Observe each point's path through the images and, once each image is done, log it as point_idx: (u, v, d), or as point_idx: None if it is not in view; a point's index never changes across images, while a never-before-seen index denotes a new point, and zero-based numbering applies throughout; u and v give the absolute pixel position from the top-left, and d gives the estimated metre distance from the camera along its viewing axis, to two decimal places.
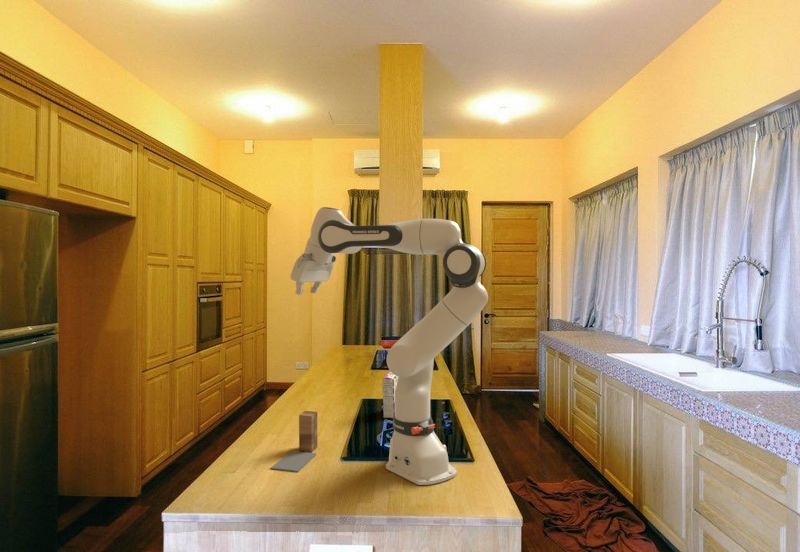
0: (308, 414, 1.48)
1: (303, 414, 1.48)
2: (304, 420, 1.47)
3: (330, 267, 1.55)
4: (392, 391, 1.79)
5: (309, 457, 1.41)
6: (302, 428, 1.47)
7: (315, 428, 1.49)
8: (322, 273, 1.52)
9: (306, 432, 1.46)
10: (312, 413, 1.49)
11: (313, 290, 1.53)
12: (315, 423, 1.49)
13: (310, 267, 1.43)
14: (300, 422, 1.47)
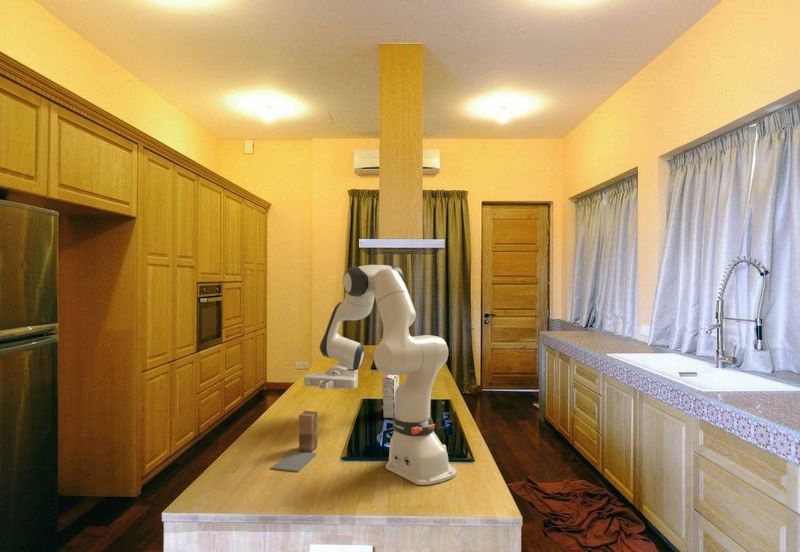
0: (308, 414, 1.48)
1: (303, 414, 1.48)
2: (304, 420, 1.47)
3: (351, 375, 1.68)
4: (392, 391, 1.79)
5: (309, 457, 1.41)
6: (302, 428, 1.47)
7: (315, 428, 1.49)
8: (339, 376, 1.67)
9: (306, 432, 1.46)
10: (312, 413, 1.49)
11: None
12: (315, 423, 1.49)
13: (320, 375, 1.71)
14: (300, 422, 1.47)
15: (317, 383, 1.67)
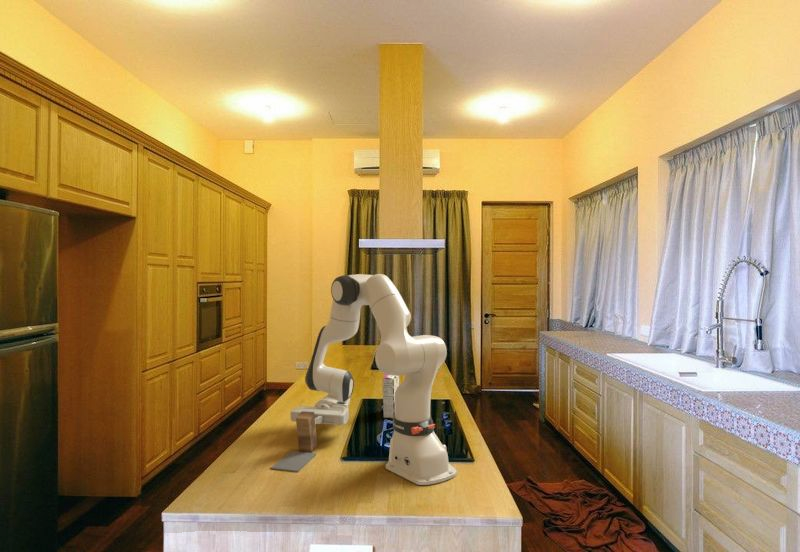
0: (305, 416, 1.45)
1: (300, 416, 1.45)
2: (301, 423, 1.45)
3: (341, 409, 1.58)
4: (392, 391, 1.79)
5: (309, 457, 1.41)
6: (300, 430, 1.45)
7: (313, 428, 1.48)
8: (328, 411, 1.56)
9: (304, 434, 1.45)
10: (309, 414, 1.47)
11: None
12: (313, 423, 1.47)
13: (308, 408, 1.60)
14: (297, 424, 1.45)
15: None
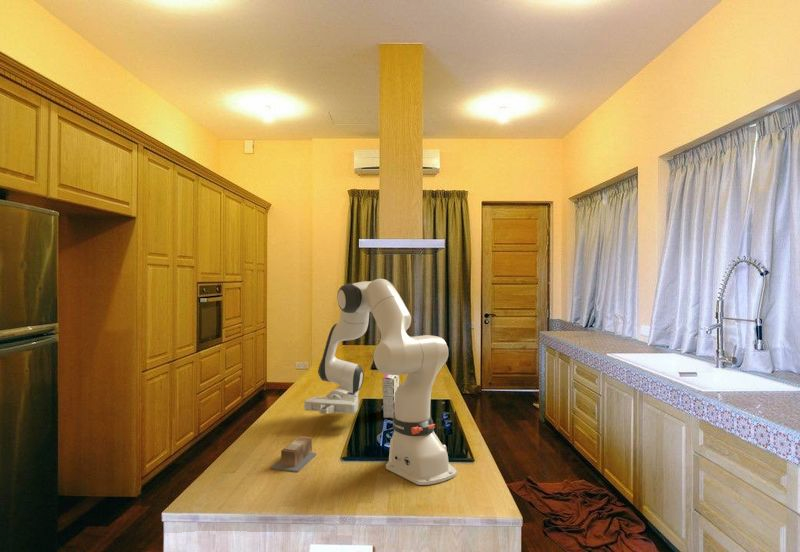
0: (289, 462, 1.35)
1: (284, 462, 1.35)
2: None
3: (352, 399, 1.68)
4: (392, 391, 1.79)
5: (309, 457, 1.41)
6: None
7: (302, 450, 1.39)
8: (339, 401, 1.67)
9: None
10: (291, 456, 1.35)
11: None
12: (299, 453, 1.38)
13: (321, 398, 1.71)
14: None
15: (318, 407, 1.67)
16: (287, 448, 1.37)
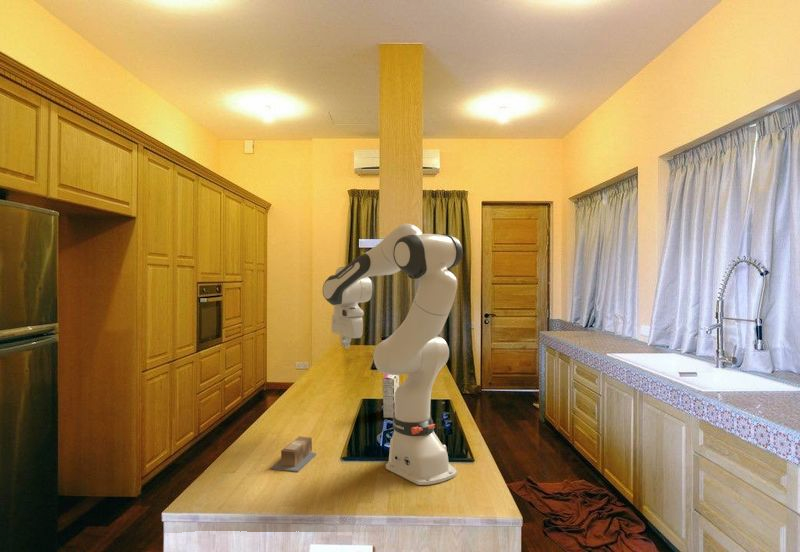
0: (289, 462, 1.35)
1: (284, 462, 1.35)
2: None
3: (349, 322, 1.58)
4: (392, 391, 1.79)
5: (309, 457, 1.41)
6: None
7: (302, 450, 1.39)
8: (345, 328, 1.62)
9: None
10: (291, 456, 1.35)
11: None
12: (299, 453, 1.38)
13: (336, 320, 1.69)
14: None
15: None
16: (287, 448, 1.37)
